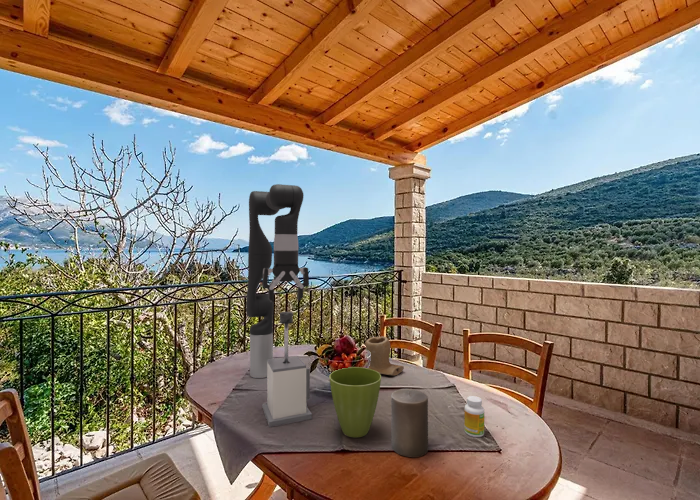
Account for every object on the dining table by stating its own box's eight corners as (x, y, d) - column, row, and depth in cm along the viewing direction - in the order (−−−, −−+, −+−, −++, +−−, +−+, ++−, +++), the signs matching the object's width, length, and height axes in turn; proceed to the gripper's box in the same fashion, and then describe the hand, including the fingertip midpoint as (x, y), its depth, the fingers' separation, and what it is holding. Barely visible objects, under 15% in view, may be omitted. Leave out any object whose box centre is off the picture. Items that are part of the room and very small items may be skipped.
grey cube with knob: (262, 408, 116) (262, 358, 115) (303, 401, 121) (303, 353, 121) (269, 427, 104) (269, 371, 103) (315, 418, 109) (315, 365, 109)
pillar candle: (435, 454, 90) (435, 395, 90) (400, 460, 87) (400, 400, 87) (417, 435, 99) (417, 382, 100) (385, 440, 97) (385, 385, 97)
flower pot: (322, 423, 106) (322, 370, 105) (366, 414, 111) (367, 364, 111) (340, 450, 92) (340, 389, 92) (390, 438, 98) (390, 380, 98)
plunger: (271, 369, 114) (271, 311, 114) (295, 366, 117) (295, 310, 117) (276, 378, 107) (276, 316, 107) (301, 374, 110) (301, 314, 110)
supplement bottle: (482, 439, 97) (482, 404, 97) (462, 434, 100) (462, 400, 100) (486, 431, 102) (486, 397, 101) (466, 426, 104) (467, 393, 104)
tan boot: (359, 374, 146) (359, 338, 146) (372, 366, 157) (372, 332, 157) (393, 381, 139) (393, 343, 139) (404, 372, 149) (404, 336, 149)
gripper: (305, 248, 116) (304, 297, 117) (260, 248, 111) (260, 300, 111) (311, 249, 109) (311, 301, 110) (264, 249, 104) (264, 304, 104)
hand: (285, 300), depth 110 cm, fingers open, 8 cm apart
